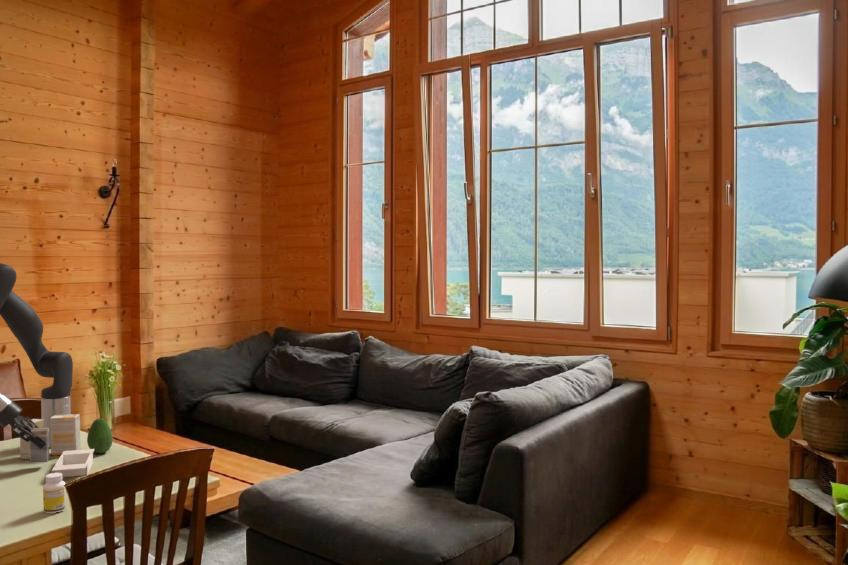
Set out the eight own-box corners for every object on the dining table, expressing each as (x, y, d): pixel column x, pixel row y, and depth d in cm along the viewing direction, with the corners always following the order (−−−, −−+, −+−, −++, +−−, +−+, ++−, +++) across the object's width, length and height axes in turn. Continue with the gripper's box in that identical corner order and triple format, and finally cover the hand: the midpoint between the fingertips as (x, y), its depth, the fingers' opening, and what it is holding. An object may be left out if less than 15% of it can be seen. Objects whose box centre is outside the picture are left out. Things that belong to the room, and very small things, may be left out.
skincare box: (31, 459, 233) (30, 423, 233) (19, 459, 234) (19, 422, 234) (45, 454, 240) (44, 418, 239) (34, 453, 241) (33, 418, 240)
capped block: (33, 459, 226) (33, 428, 226) (49, 458, 228) (48, 427, 227) (30, 462, 222) (30, 431, 222) (46, 461, 224) (46, 430, 223)
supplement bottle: (48, 507, 191) (48, 471, 191) (69, 506, 192) (69, 471, 191) (39, 514, 186) (39, 478, 185) (61, 514, 186) (60, 477, 186)
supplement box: (81, 451, 244) (80, 413, 243) (76, 455, 239) (75, 417, 239) (56, 451, 243) (55, 414, 242) (50, 455, 238) (49, 417, 238)
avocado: (99, 449, 247) (99, 415, 246) (117, 451, 244) (117, 417, 244) (81, 455, 239) (81, 420, 239) (100, 457, 237) (99, 422, 236)
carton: (63, 461, 232) (63, 451, 232) (94, 459, 235) (94, 448, 235) (51, 481, 212) (51, 470, 212) (85, 479, 215) (85, 467, 215)
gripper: (5, 404, 215) (50, 441, 219) (16, 395, 228) (58, 430, 233) (-15, 423, 213) (31, 459, 218) (-2, 413, 227) (40, 447, 231)
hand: (45, 444), depth 225 cm, fingers closed on capped block, 4 cm apart
